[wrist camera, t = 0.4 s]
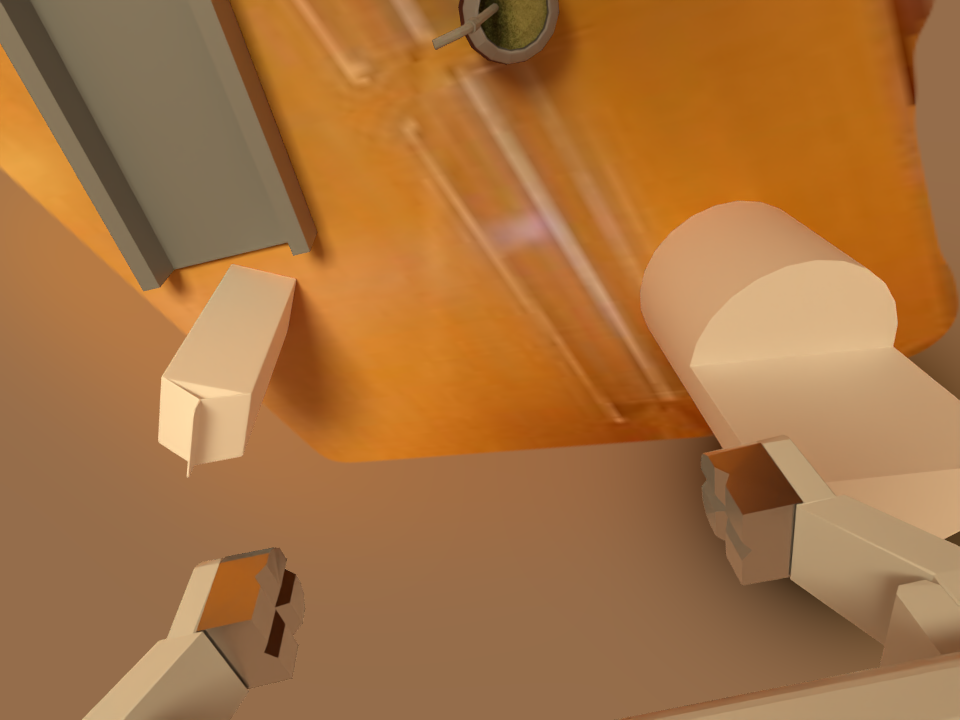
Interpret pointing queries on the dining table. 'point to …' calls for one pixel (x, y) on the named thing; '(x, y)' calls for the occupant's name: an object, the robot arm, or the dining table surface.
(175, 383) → the milk
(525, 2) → the mate gourd
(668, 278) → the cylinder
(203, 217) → the trough
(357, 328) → the dining table surface
